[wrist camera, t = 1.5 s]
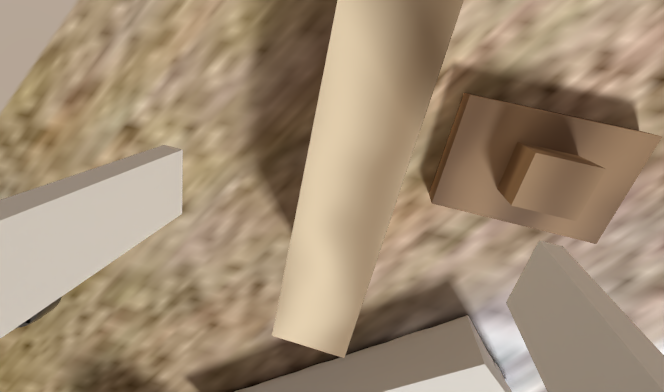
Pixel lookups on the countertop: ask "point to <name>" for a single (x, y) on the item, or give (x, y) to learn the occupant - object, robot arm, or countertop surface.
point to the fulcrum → (538, 167)
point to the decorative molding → (404, 366)
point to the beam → (358, 160)
